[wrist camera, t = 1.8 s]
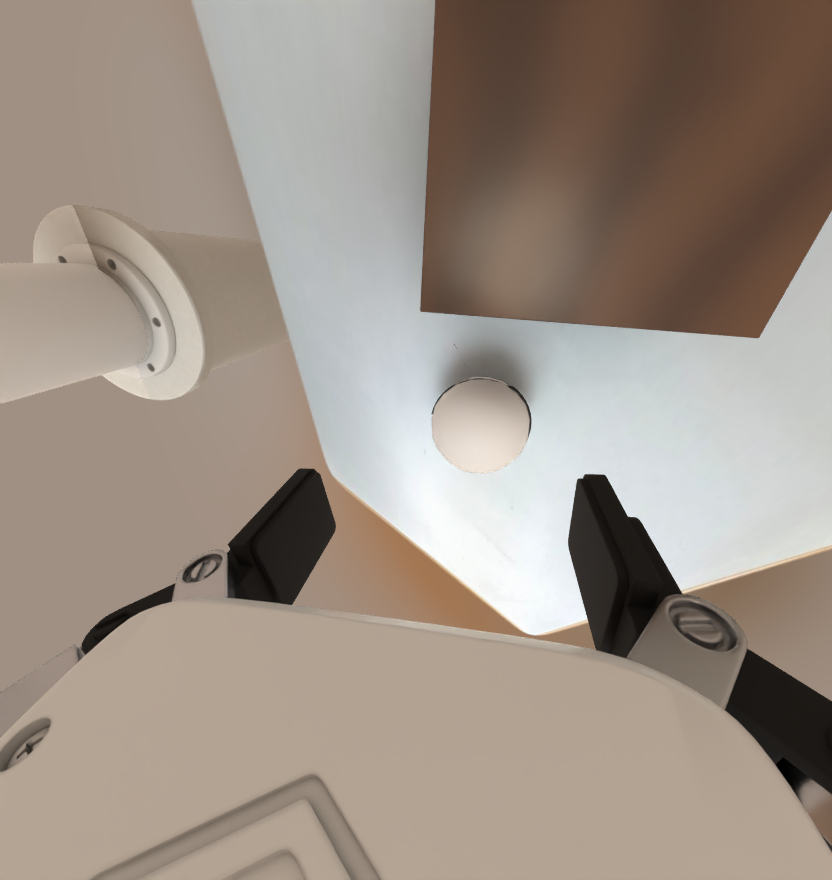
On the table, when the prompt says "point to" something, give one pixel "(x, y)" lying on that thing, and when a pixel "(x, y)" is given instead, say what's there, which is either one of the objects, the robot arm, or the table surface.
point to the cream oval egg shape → (480, 424)
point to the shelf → (626, 159)
